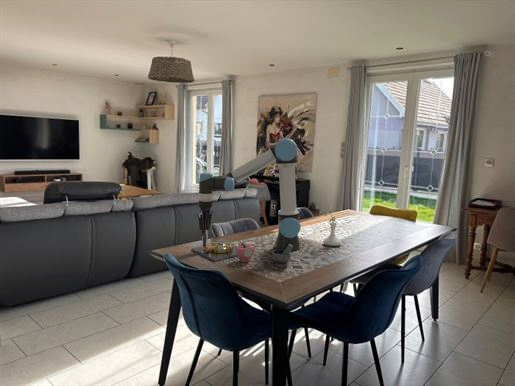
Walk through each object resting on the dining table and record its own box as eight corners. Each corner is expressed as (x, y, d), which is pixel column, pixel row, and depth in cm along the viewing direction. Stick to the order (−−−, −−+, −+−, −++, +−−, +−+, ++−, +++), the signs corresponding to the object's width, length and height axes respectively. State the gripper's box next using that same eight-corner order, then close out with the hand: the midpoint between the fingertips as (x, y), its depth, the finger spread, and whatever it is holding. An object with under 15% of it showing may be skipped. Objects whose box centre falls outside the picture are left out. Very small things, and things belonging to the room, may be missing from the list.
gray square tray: (250, 253, 216) (250, 245, 216) (214, 261, 201) (214, 252, 200) (225, 243, 235) (226, 236, 234) (191, 250, 219) (191, 242, 219)
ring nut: (231, 245, 225) (231, 230, 224) (233, 252, 212) (233, 235, 211) (202, 246, 222) (202, 230, 221) (203, 253, 210) (203, 236, 208)
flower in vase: (329, 241, 246) (331, 202, 243) (345, 245, 238) (347, 205, 235) (317, 244, 237) (319, 205, 234) (332, 249, 229) (335, 207, 226)
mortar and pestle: (268, 265, 197) (268, 242, 195) (277, 260, 205) (278, 239, 203) (287, 270, 191) (288, 246, 189) (296, 265, 199) (297, 242, 197)
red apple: (239, 265, 197) (239, 246, 195) (233, 259, 204) (233, 241, 203) (256, 263, 200) (256, 244, 199) (250, 258, 208) (250, 240, 207)
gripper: (206, 198, 223) (205, 237, 226) (193, 201, 211) (192, 243, 214) (217, 199, 220) (216, 239, 223) (205, 202, 208) (204, 245, 211)
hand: (204, 241), depth 219 cm, fingers closed
